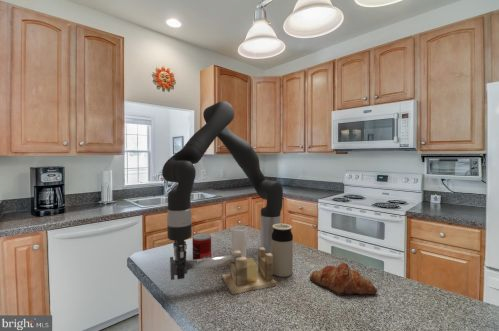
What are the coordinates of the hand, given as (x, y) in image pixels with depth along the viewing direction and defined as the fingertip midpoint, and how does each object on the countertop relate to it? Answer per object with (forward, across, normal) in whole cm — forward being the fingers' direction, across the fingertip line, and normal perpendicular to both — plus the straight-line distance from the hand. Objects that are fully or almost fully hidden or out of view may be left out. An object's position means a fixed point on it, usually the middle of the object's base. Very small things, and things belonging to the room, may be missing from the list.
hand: (180, 275), depth 81 cm
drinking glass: (+6, +15, -25) cm, 30 cm away
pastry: (+7, -14, -52) cm, 54 cm away
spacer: (+2, 0, -24) cm, 24 cm away
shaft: (0, 0, -9) cm, 9 cm away
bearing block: (+6, 0, -23) cm, 24 cm away
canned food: (+6, +23, -11) cm, 26 cm away
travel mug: (+6, +2, -38) cm, 39 cm away
